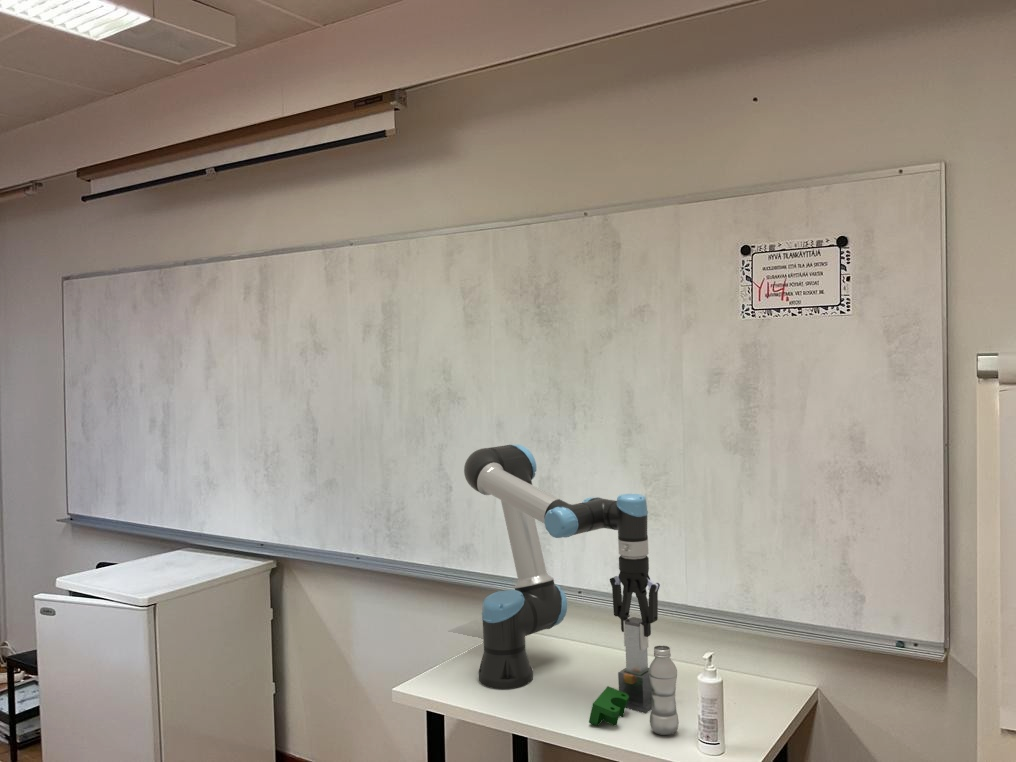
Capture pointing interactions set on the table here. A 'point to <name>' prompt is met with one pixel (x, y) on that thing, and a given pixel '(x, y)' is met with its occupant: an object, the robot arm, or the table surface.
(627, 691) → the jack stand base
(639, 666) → the column
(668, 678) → the plastic bottle
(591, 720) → the clamp
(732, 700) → the table surface
